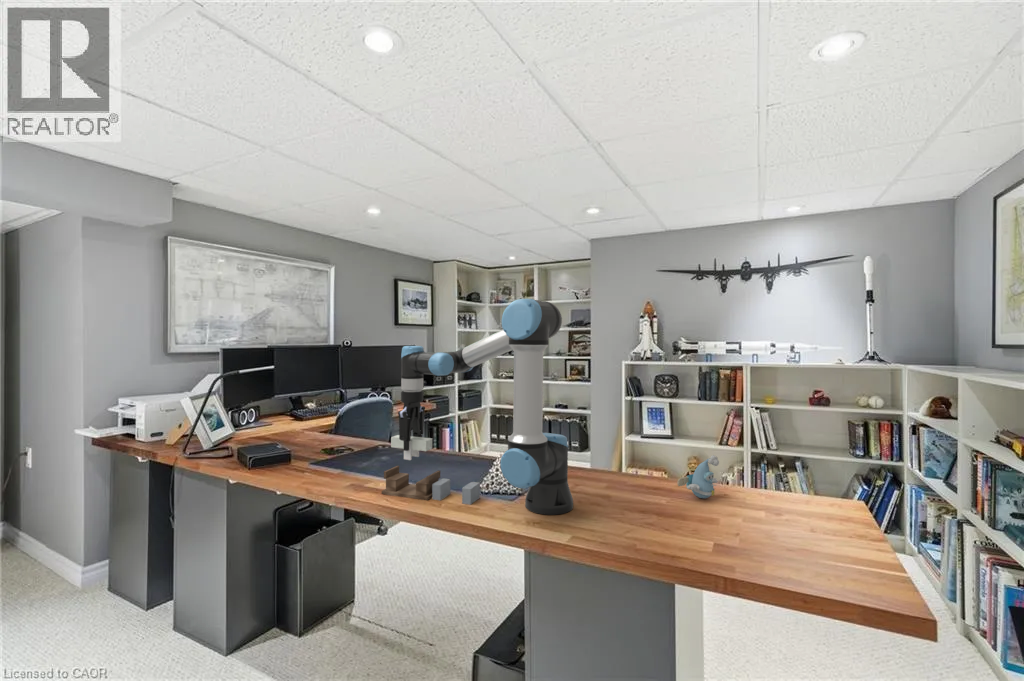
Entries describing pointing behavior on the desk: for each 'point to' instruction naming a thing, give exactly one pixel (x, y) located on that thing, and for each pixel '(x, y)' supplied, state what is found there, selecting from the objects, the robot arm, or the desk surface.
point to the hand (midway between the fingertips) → (411, 457)
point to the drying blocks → (468, 492)
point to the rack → (408, 485)
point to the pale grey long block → (413, 443)
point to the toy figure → (701, 479)
